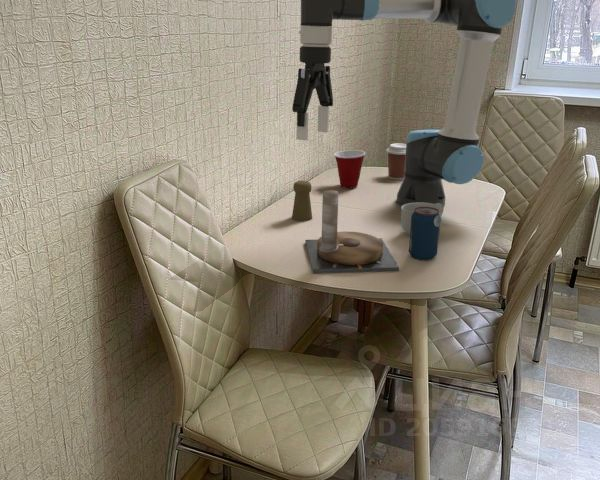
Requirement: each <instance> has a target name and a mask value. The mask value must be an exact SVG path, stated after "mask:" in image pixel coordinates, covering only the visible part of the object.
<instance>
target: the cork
mask: <svg viewBox="0 0 600 480" xmlns="http://www.w3.org/2000/svg"><path fill="white" fill-rule="evenodd" d="M293 191H294V201H293V207H292V215H291V219H292V220H293V221H296V222H308V221H309V222H310V221H311V220H313V211H312V202H311V195H310V193H311V191H312V183H311V182H310V181H308V180H297V181H295V182H294V183H293Z"/></svg>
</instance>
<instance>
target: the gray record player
mask: <svg viewBox="0 0 600 480" xmlns="http://www.w3.org/2000/svg"><path fill="white" fill-rule="evenodd" d="M377 238H378V239H380V240H381V241H382V242H383V254H382V257H381V258H380V259H379V260H377V261H375V262H372V263H368V264H362V265H360V264H357V265H344V264H337V263H333V262H330V261H327V260H325V259H323V258H321V257H320V256H319V255H318V253H317V241H318V239H305V248H306V250H307V251H306V252H307V255H308V260H309V263H310V267H311V270H312V274H342V273H343V274H346V273H379V272H380V273H381V272H382V273H385V272H399V271H400V266H399V265H398V263H397V261H396V260H395V258H394V256H393V255H392V254H391V252H390V250H389V248H388V247H387V244H385V241H384V240H383V238H379V237H377Z"/></svg>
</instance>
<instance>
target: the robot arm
mask: <svg viewBox="0 0 600 480" xmlns="http://www.w3.org/2000/svg"><path fill="white" fill-rule="evenodd" d="M516 8H517V0H300V28H299V29H300V30H299V31H298V34H299V35H300V36H299V43H300V44H302V45H301V46H300V47H299V62H300V63H304V64H305V65H304V68H298V69H297V70H298V71H297V72H298V73H297V81H296V82H297V83H296V87H295V92H294V96H293V97H294V98H293V102H292V109H291V110H292V112H293V113H296V140H297V141H298V140H300V141H308V140H309V139H308V138H309V112H308V109H309V106H310V102H311V99H312V95H313V93H314V89H315V91H316V95H317V99H318V102H319V105H318V106H317V109H318V110H317V132H319V133H320V132H321V133H328V132H329V120H330V119H329V116H330V107H333V106H334V105H333V104H334V96H333V90H332V89H333V88H332V82H331V80H332V79H331V66H330V65H325V64H329V63H331V58H332V57H331V56H332V48H331V47H330V45H331V44H333V43H332V40H333V38H332V37H333V35H332V34H333V20H338V21H339V20H341V21H348V20H349V21H362V22H364V21H371V20H386V19H387V20H389V19H390V20H392V19H393V20H397V19H398V20H399V19H400V20H403V19H404V20H406V19H407V20H410V19H414V20H415V19H416V20H417V19H419V20H420V19H421V20H423V21H424V22H425V23H439V24H445V25H446V24H447V25H452V26H456V33H457V35H458V36H459V38H460V42H459V48H458V52H457V58H456V64H455V69H454V74H453V79H452V86H451V90H450V96H449V102H448V106H447V107H448V108H447V111H446V118H445V123H444V126H443V128H441V129H417V130H412V131H409V132H408V134H407V138H406V141H405V144H406V157H405V172H404V179H403V180H401V181H402V182H401V184H400V187H399V189H398V191H397V194H396V203H397V204H398V205H400V206H401V207H402V206H403V205H405V204H408V203H416V202H419V203H420V202H424V203H432V204H436V203H440V204H442V205H443V207H445V205H446V193H445V190H444V185H443V180H444V181H445V182H448V183H450V184H451V183H452V184H456V185H465V184H468V183H469V182H471V181H472V180H473V179H474V178H475V179H476V177H477V176H478V175H479V174H480V172H481V171H482V168H483V165H484V161H485V160H484V158H485V156H484V153H483V151H482V149H481V148H480V147H479V143H480V136H479V135H478V134H477V132H476V129H477V124H478V120H479V115H480V111H481V105H482V100H483V99H482V98H483V95H484V89H485V86H486V80H487V75H488V70H489V66H490V60H491V55H492V49H493V45H494V42H495V41H496V40H497V39H499V38H500V37H501V35H502V30H503V28H504V27H506V26H507V25H509V23H510V22H512V20H513V18H514V16H515V13H516Z"/></svg>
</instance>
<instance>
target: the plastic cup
mask: <svg viewBox="0 0 600 480" xmlns="http://www.w3.org/2000/svg"><path fill="white" fill-rule="evenodd" d="M365 155H366V152H365V151H363V150H360V149H359V150H357V149H347V150H340V151H339V150H338V151H337V152H334V153H333V156H334V158H335V161H336V165H337V166H336V167H337V172H338V178H339V179H338V180H339V186H340V188H343V189H355V188H358V186H359V180H360V176H361V172H362V171H361V170H362V167H363V162H364V158H365Z"/></svg>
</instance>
